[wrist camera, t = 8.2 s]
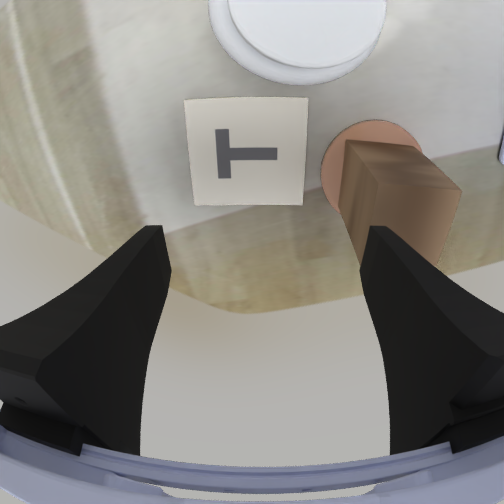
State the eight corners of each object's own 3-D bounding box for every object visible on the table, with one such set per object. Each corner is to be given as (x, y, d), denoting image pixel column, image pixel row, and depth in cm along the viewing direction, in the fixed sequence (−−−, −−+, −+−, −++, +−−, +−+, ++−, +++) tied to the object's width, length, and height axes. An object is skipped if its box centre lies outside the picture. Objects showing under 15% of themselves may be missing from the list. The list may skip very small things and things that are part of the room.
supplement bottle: (231, 68, 15) (197, 102, 7) (227, -22, 12) (188, -89, 4) (332, 70, 15) (410, 109, 7) (332, -20, 12) (411, -72, 4)
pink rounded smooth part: (430, 127, 17) (433, 129, 16) (409, 220, 21) (412, 224, 21) (324, 115, 17) (326, 117, 17) (316, 218, 21) (317, 221, 21)
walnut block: (413, 145, 17) (462, 190, 12) (400, 208, 20) (436, 265, 15) (345, 139, 17) (378, 183, 13) (337, 206, 20) (360, 266, 15)
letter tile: (308, 97, 16) (308, 98, 16) (302, 204, 21) (302, 205, 21) (183, 99, 17) (183, 100, 16) (194, 205, 21) (194, 205, 21)
